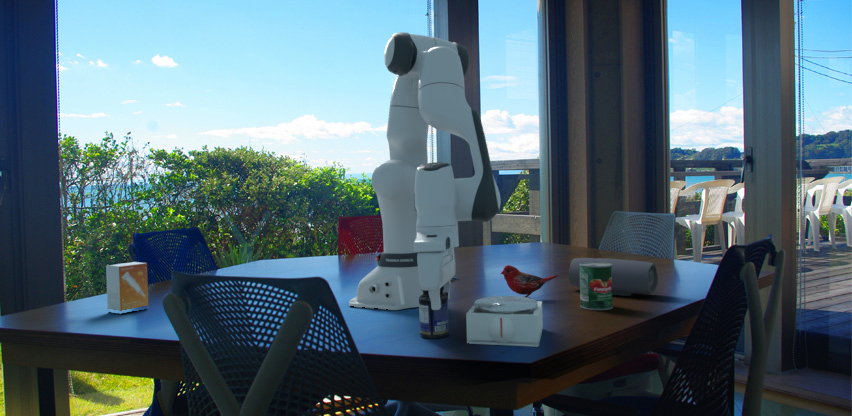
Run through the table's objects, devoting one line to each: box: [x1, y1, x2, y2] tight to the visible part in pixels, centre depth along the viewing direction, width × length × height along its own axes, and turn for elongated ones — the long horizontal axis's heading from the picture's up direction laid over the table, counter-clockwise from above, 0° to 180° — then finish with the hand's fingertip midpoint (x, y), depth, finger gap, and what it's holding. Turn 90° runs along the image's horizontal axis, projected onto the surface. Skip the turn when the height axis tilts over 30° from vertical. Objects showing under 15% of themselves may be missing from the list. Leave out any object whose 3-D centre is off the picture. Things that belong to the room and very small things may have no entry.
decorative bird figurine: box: [500, 264, 559, 299], centre depth 151 cm, size 3×18×10 cm, turn 107°
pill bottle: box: [418, 285, 450, 339], centre depth 117 cm, size 6×6×11 cm
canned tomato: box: [579, 262, 614, 311], centre depth 140 cm, size 8×8×11 cm
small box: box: [105, 261, 149, 311], centre depth 151 cm, size 8×6×13 cm
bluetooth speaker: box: [568, 257, 659, 297], centre depth 157 cm, size 23×9×10 cm, turn 50°
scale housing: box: [465, 300, 544, 348], centre depth 115 cm, size 14×15×6 cm
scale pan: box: [473, 295, 538, 314], centre depth 115 cm, size 13×13×4 cm
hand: (441, 304), depth 117 cm, fingers open, 8 cm apart
